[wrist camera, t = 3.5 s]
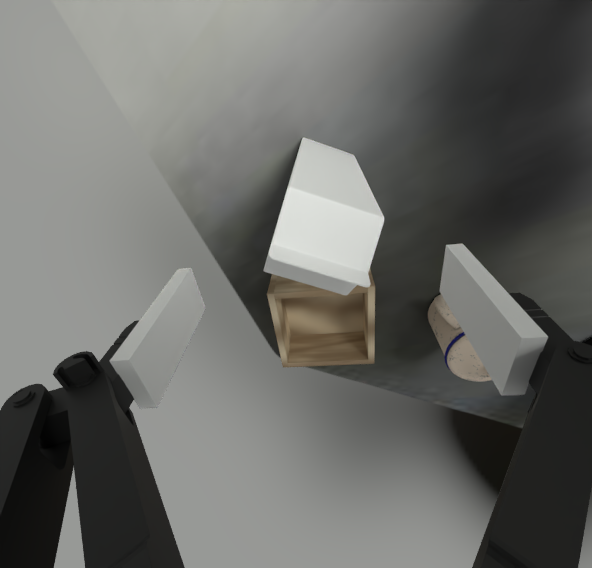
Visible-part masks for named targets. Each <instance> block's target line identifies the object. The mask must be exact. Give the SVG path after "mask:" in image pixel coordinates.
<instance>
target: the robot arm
mask: <svg viewBox="0 0 592 568" xmlns="http://www.w3.org/2000/svg"><path fill="white" fill-rule="evenodd" d="M440 293H441V295H442V296H443V298H444V300H445V301H446V303H447V305H448V306H449V308H450V310H451V312H452V313H453V315H454V317H455V318H456V320H457V322H458V323H459V325H460V327H461V328H462V330H463V332H464V333H465V335H466V337H467V338H468V340H469V342H470V343H471V345H472V347H473V348H474V350H475V352H476V353H477V355H478V357H479V358H480V360H481V362H482V364H483V365H484V367H485V369H486V370H487V372H488V374H489V375H490V377H491V379H492V380H493V382H494V384H495V385H496V387H497V389H498V390H499V392H500V394H501V395H502V396H503V395H525V392H526V390H527V388H528V385H529V383H530V385H531V386H532V388H533V389H534V390H535V392H536V395H535V397H534V399H533V402H532V404H531V406H530V409H529V411H528V416H527V419H526V421H525V424H524V427H523V430H522V432H521V435H520V438H519V441H518V443H517V446H516V449H515V452H514V455H513V457H512V460H511V463H510V465H509V468H508V471H507V474H506V477H505V479H504V482H503V485H502V487H501V490H500V493H499V496H498V498H497V501H496V504H495V507H494V510H493V512H492V515H491V518H490V521H489V523H488V526H487V529H486V531H485V534H484V537H483V540H482V542H481V545H480V548H479V551H478V553H477V556H476V559H475V562H474V564H473V567H472V568H578V564H579V559H580V552H581V547H582V540H583V535H584V529H585V522H586V517H587V511H588V505H589V499H590V492H591V487H592V346H591V345H588V344H586V343H581V342H576V341H573V340H572V339H571V338H570V337H569V336H568V335H567V334H566V333H565V332H564V331H563V330H562V329H561V328H560V327H559V326H558V325H557V324H556V323H555V322H554V321H553V320H552V319H551V318H550V317H548V315H547V314H546V313H545V312H544V311H543V310H541V308H540V307H539V306H538V305H537V304H536V303H535V302H534V301H533V300H532V299H530V298H528V297H526V296H525V295H523V294H521V293H510V294H508V292H507V291H506V290H505V289H504V288H503V287H502V286H501V285H500V284H499V283H498V282H497V280H496V279H495V278H494V277H493V276H492V275H491V274H490V273H489V272H488V271H487V270H486V268H485V267H484V266H483V265H482V264H481V263H480V262H479V261H478V260H477V259H476V258H475V257H474V255H473V254H472V253H471V252H470V251H469V250H468V249H467V248H466V247H465V246H464V245H463V243H462V244H451V245H446V249H445V256H444V263H443V270H442V277H441V284H440ZM205 309H206V307H205V305H204V302H203V299H202V296H201V294H200V291H199V288H198V285H197V282H196V279H195V277H194V274H193V271H192V268H184V269H178V270H177V271H176V272H175V274H174V275H173V276H172V278H171V279H170V280H169V282H168V283H167V284H166V286H165V287H164V288H163V290H162V291H161V292H160V294H159V295H158V296H157V298H156V299H155V300H154V302H153V303H152V304H151V306H150V307H149V309H148V310H147V311H146V313H145V314H144V315H143V317H142V318H141V319H140V321H134V322H133V323H132V324H130V325H129V326H128V327H126V329H125V330H124V331H123V332H122V333H121V335H120V336H119V338H118V339H117V340H116V341H115V343H114V345H112V346H111V347H110V349H109V350H108V351H107V353H106V354H105V355H104V357H103V358H102V359H101V360H100V362H98V361H97V359H96V358H95V356H94V355H93V353H92V352H87V351H86V352H80V353H77V354H74V355H72V356H70V357H68V358H66V359H65V360H64V361H62V362H61V363H60V364H59V365H58V366H57V367H56V369H55V370H54V373H53V375H54V376H55V378H56V379H57V380H58V381H59V382H60V384H61V385H62V386H63V388H59V389H56V390H52V391H48V390H47V389H46V388H45V387H44V386H43V385H42V384H34V385H30V386H27V387H25V388H23V389H20V390H19V391H18V392H16V393H14V394H13V395H12V396H11V397H10V398H9V399H8V400H7V401H6V402H5V403H4V405H3V406H2V408H1V410H0V568H54V563H55V557H56V553H57V548H58V543H59V537H60V532H61V527H62V522H63V517H64V512H65V507H66V502H67V497H68V492H69V487H70V481H71V476H72V471H73V466H74V470H75V479H76V489H77V498H78V507H79V516H80V525H81V533H82V542H83V551H84V560H85V568H184V565H183V562H182V559H181V556H180V553H179V550H178V547H177V544H176V541H175V538H174V535H173V532H172V529H171V526H170V523H169V520H168V517H167V514H166V511H165V508H164V505H163V502H162V499H161V496H160V493H159V490H158V488H157V485H156V481H155V479H154V476H153V472H152V469H151V467H150V464H149V461H148V458H147V455H146V452H145V449H144V446H143V443H142V440H141V437H140V434H139V431H138V428H137V425H136V422H135V419H134V416H133V413H132V411H131V410H130V408H129V407H130V405H131V403H132V401H133V400H135V402H136V403H137V405H138V406H139V408H157V407H158V405H159V403H160V401H161V399H162V397H163V395H164V393H165V391H166V389H167V387H168V385H169V383H170V381H171V379H172V377H173V375H174V373H175V370H176V369H177V366H178V364H179V362H180V360H181V358H182V356H183V354H184V352H185V350H186V348H187V346H188V344H189V342H190V340H191V338H192V336H193V334H194V332H195V330H196V327H197V325H198V323H199V321H200V319H201V317H202V315H203V313H204V311H205Z"/></svg>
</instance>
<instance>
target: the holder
mask: <svg viewBox="0 0 592 568" xmlns="http://www.w3.org/2000/svg"><path fill="white" fill-rule="evenodd" d="M368 275H369V279H370V283H371V285H370V287H362V286H359V285H357V286H356V287H355V288H354V289H353V290H352V291H351V292H350V293H349V294H348V295H342V294H339V293H335V292H332V291H329V290H325V289H322V288H318V287H315V286H311V285H308V284H305V283H301V282H298V281H294V280H291V279H288V278H284V277H281V276H277V275H274V274H272V276H271V280H270V284H269V288H268V292H267V296H268V301H269V306H270V310H271V315H272V319H273V324H274V328H275V333H276V338H277V342H278V347H279V351H280V356H281V360H282V365H283V367H303V366H326V365H350V364H374V349H375V284H374V281H373V277H372V273H371V270H370V269H369V272H368Z"/></svg>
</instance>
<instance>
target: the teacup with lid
mask: <svg viewBox="0 0 592 568" xmlns="http://www.w3.org/2000/svg"><path fill="white" fill-rule="evenodd" d="M428 320H429V323H430V325H431V327H432V330H433V332H434V334H435V336H436V338H437V340H438V343H439V345H440V347H441V349H442V351H443V354H444V356H445V363H446V365H447V367H448V368H449V369H450V370H451V371H452V372H453V373H454V374H455V375H457V376H458V377H460V378H463V379H466V380H470V381H489V380H492V379H491V377H490V375H489V374H488V372H487V370H486V369H485V367H484V365H483V364H482V362H481V360H480V358H479V357H478V355H477V353H476V352H475V350H474V348H473V347H472V345H471V343H470V342H469V340H468V338H467V337H466V335H465V333H464V332H463V330H462V328H461V327H460V325H459V323H458V322H457V320H456V318H455V317H454V315H453V313H452V312H451V310H450V308H449V306H448V305H447V303H446V301H445V300H444V298H443V296H442V295H441V294H440V295H438V296H437V297H435V298H434V301H433V302H432V303H431V305H430V307H429V310H428Z"/></svg>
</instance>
